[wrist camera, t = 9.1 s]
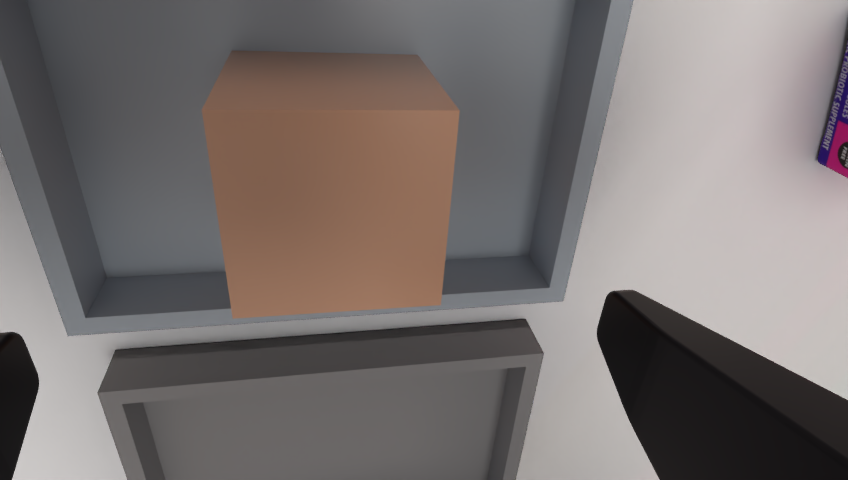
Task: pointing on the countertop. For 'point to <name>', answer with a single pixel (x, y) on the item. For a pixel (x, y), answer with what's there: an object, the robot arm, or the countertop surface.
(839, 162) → the supplement box
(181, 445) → the bin
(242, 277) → the brown cube
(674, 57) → the countertop surface
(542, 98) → the tray
